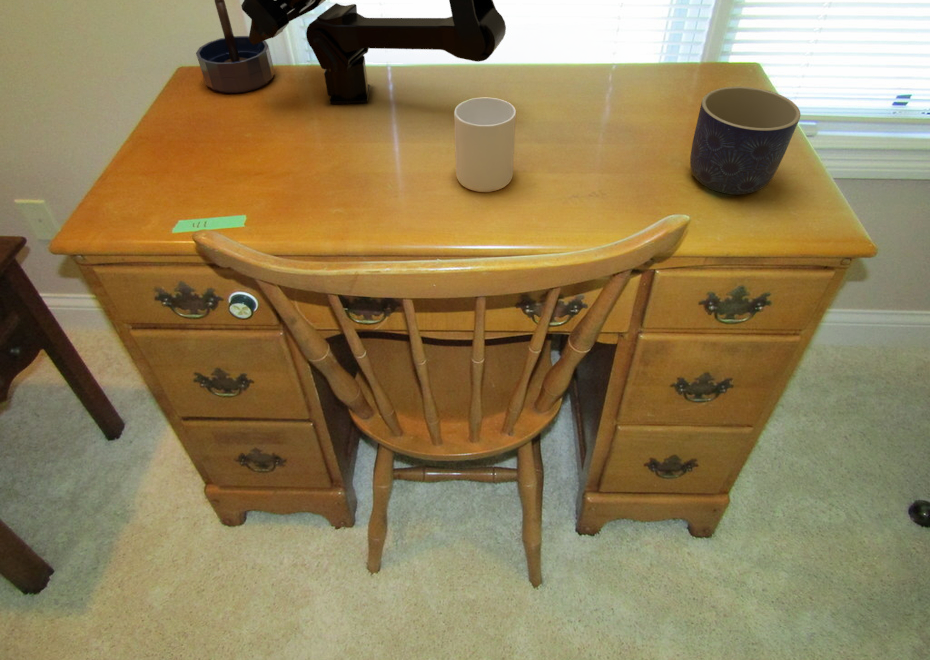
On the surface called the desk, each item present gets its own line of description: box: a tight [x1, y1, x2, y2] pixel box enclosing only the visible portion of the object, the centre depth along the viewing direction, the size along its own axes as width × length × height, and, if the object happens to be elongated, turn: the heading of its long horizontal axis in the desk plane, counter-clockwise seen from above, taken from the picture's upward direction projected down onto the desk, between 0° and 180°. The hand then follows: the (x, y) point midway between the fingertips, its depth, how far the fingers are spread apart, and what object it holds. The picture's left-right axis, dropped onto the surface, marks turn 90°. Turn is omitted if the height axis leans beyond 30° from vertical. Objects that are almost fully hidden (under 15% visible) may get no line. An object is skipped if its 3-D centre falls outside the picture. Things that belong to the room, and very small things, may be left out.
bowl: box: [195, 35, 276, 94], centre depth 115 cm, size 12×12×6 cm
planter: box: [689, 85, 801, 195], centre depth 87 cm, size 12×12×11 cm
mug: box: [453, 96, 517, 193], centre depth 90 cm, size 12×8×10 cm
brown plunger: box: [214, 0, 247, 62], centre depth 111 cm, size 5×5×14 cm
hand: (265, 32), depth 108 cm, fingers open, 9 cm apart
